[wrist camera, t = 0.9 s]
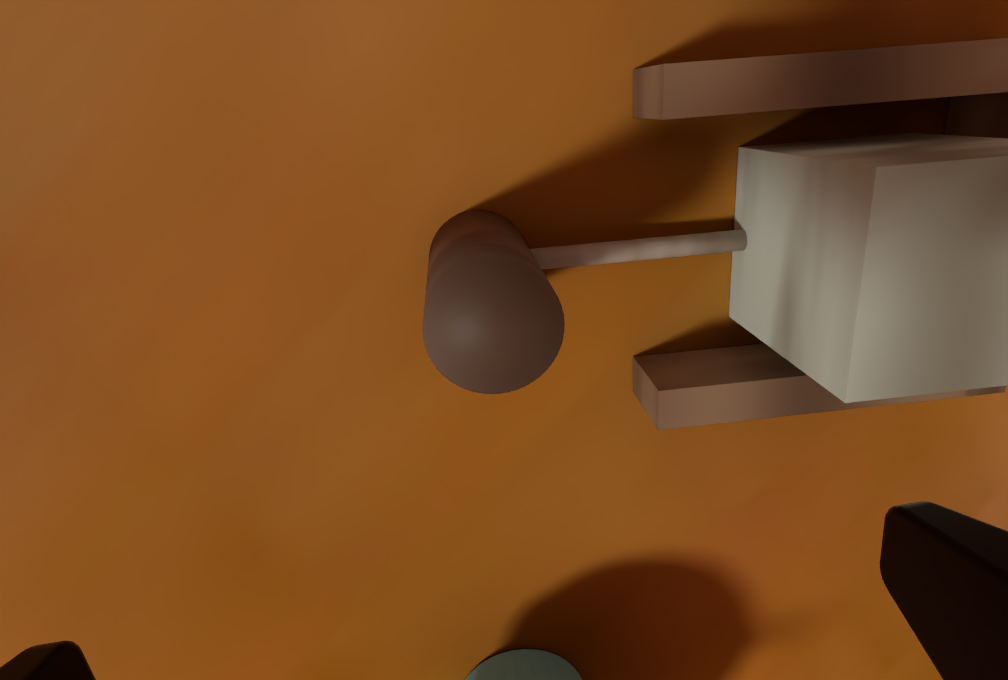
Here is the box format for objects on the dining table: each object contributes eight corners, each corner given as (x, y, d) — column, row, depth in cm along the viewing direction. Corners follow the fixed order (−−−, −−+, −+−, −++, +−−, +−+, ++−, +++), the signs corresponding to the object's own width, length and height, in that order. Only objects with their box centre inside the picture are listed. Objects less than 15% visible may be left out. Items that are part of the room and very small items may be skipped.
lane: (1001, 41, 17) (1088, 31, 15) (941, 359, 21) (1004, 392, 18) (633, 69, 17) (663, 63, 14) (633, 391, 20) (657, 429, 18)
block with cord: (909, 132, 18) (1122, 145, 12) (885, 300, 20) (1061, 379, 14) (418, 173, 17) (406, 208, 11) (439, 345, 19) (437, 447, 13)
